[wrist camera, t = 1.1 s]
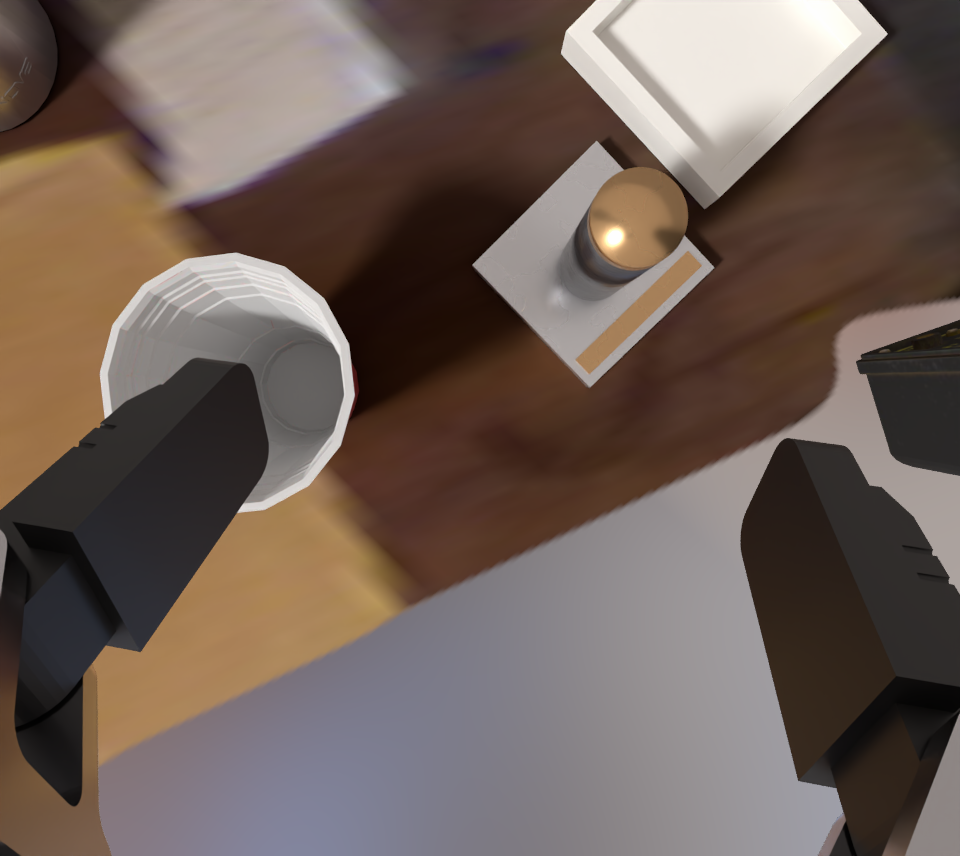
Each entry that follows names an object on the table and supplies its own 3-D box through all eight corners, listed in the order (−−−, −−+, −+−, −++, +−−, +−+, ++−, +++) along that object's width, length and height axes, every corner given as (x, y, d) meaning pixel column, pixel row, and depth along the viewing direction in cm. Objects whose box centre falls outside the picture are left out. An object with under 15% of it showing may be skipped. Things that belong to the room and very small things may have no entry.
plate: (472, 268, 35) (472, 264, 34) (593, 147, 34) (597, 139, 33) (586, 387, 35) (590, 387, 34) (707, 271, 35) (715, 267, 34)
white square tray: (560, 53, 34) (566, 30, 32) (717, -106, 33) (734, -141, 31) (704, 209, 34) (719, 197, 32) (861, 56, 34) (888, 33, 31)
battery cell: (544, 265, 34) (570, 216, 24) (594, 216, 33) (641, 146, 24) (592, 315, 34) (637, 287, 24) (641, 266, 34) (708, 218, 24)
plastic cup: (317, 256, 35) (231, 190, 23) (434, 394, 35) (409, 400, 23) (185, 373, 35) (32, 368, 23) (301, 506, 36) (211, 568, 24)
